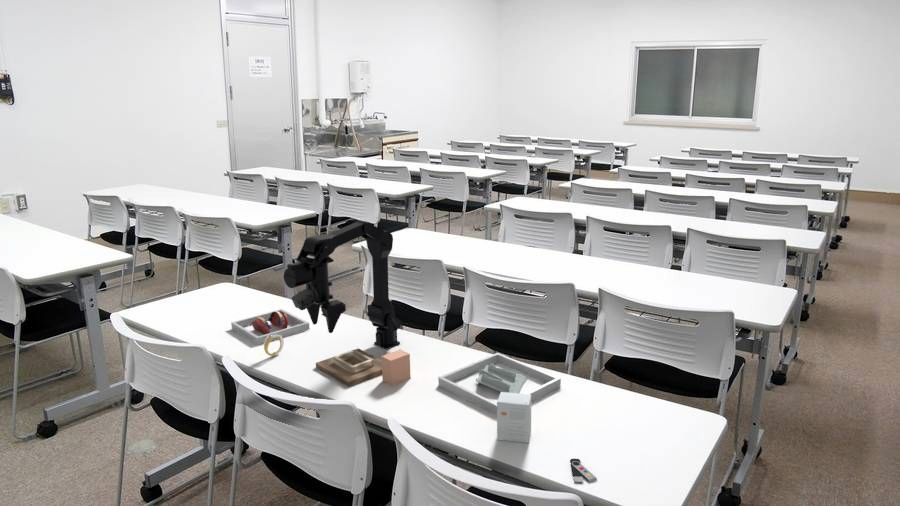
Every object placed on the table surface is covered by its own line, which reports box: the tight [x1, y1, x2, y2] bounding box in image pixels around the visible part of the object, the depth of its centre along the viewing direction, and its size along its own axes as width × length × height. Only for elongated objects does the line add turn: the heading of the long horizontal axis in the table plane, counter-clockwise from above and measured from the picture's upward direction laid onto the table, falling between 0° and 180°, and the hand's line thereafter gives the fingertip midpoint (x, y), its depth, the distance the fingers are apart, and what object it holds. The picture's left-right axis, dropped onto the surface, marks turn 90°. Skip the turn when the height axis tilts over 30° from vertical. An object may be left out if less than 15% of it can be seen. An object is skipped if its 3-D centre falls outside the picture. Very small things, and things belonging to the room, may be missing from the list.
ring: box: [263, 331, 285, 357], centre depth 208 cm, size 7×3×8 cm, turn 137°
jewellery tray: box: [230, 308, 310, 346], centre depth 231 cm, size 20×20×2 cm
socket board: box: [315, 347, 382, 387], centre depth 199 cm, size 16×18×4 cm
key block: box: [381, 348, 411, 386], centre depth 191 cm, size 7×4×8 cm, turn 133°
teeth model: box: [252, 310, 289, 335], centre depth 231 cm, size 8×6×12 cm
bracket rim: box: [437, 352, 562, 415], centre depth 187 cm, size 25×25×2 cm
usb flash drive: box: [569, 458, 598, 483], centre depth 146 cm, size 9×5×1 cm, turn 175°
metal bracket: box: [475, 364, 528, 394], centre depth 187 cm, size 14×6×15 cm
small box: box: [496, 391, 532, 444], centre depth 160 cm, size 8×6×10 cm
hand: (322, 328), depth 194 cm, fingers open, 9 cm apart
